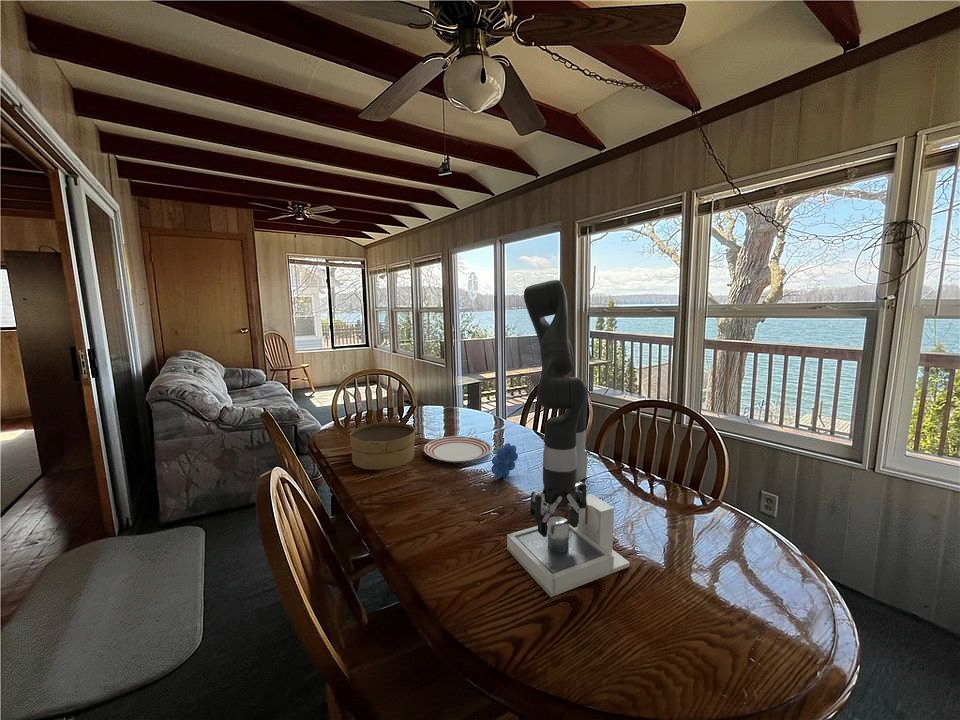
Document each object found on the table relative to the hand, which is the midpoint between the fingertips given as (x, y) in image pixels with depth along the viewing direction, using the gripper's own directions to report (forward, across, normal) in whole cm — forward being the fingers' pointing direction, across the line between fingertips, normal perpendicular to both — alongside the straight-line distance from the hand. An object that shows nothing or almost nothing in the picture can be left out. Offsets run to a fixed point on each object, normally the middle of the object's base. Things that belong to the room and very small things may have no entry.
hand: (558, 530), depth 92 cm
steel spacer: (+4, 0, 0) cm, 4 cm away
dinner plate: (+8, -6, -74) cm, 75 cm away
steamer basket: (+8, +22, -84) cm, 87 cm away
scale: (+8, -2, 0) cm, 8 cm away
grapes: (+8, -12, -47) cm, 49 cm away
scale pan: (+5, 0, 0) cm, 5 cm away
